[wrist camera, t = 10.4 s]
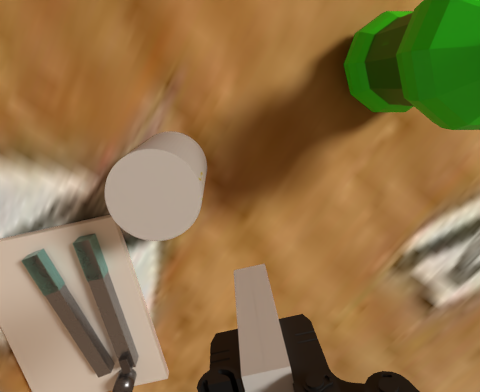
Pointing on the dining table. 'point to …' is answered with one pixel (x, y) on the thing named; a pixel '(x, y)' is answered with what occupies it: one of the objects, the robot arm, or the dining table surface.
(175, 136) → the cup
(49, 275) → the bar
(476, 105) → the plastic bottle
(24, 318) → the rest board
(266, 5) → the dining table surface
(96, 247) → the tongs fixed
